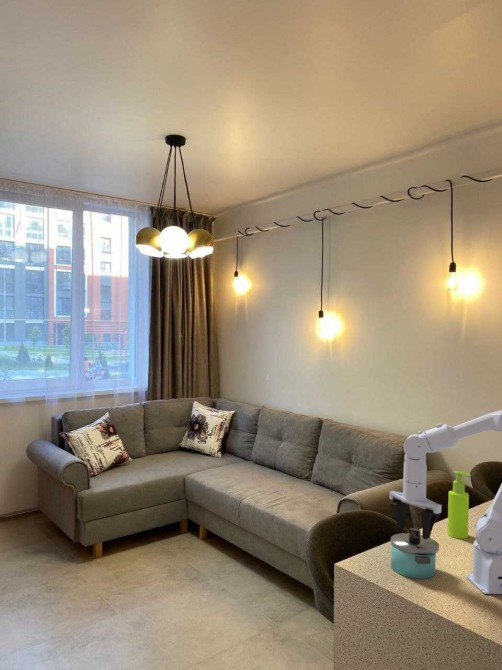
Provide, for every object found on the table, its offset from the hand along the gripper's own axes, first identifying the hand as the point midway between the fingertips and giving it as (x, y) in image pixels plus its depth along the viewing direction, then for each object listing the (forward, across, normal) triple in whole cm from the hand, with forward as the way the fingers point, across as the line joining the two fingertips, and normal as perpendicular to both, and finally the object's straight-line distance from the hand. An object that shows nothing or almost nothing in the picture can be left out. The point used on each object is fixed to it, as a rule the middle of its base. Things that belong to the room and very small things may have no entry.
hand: (413, 533), depth 131 cm
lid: (+3, 0, 0) cm, 3 cm away
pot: (+9, 0, 0) cm, 9 cm away
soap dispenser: (+9, +7, -33) cm, 35 cm away
